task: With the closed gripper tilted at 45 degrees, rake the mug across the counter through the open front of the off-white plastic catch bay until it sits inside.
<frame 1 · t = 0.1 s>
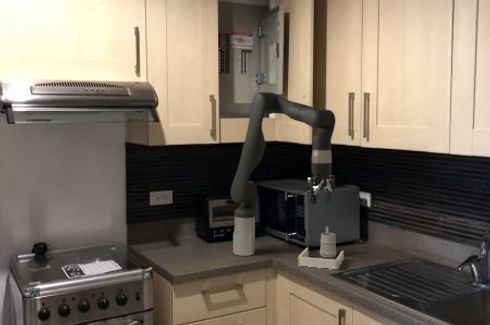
hand: (320, 202, 210), 29 cm above the countertop, tool pointing down, fingers open, 8 cm apart
catch bay: (321, 262, 232), on the countertop
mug: (327, 254, 246), on the countertop
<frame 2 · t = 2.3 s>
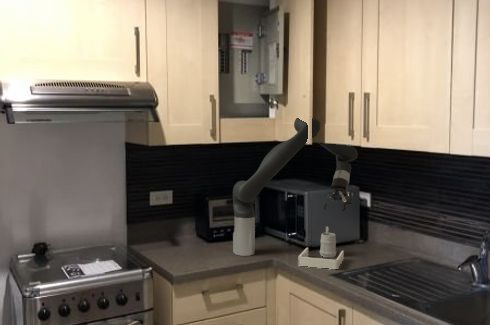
hand: (334, 209, 251), 19 cm above the countertop, tool tilted 45°, fingers open, 8 cm apart
nothing on the countertop moved.
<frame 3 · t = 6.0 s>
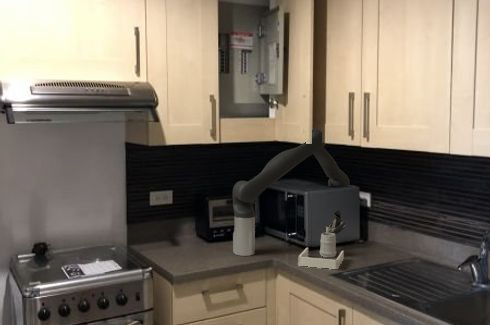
hand: (329, 240, 251), 5 cm above the countertop, tool tilted 45°, fingers closed
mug: (327, 254, 246), on the countertop, touching gripper
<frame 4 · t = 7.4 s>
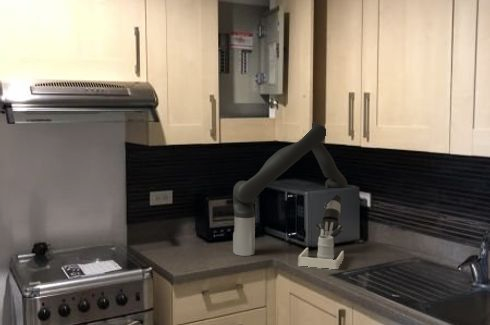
hand: (326, 243, 244), 5 cm above the countertop, tool tilted 45°, fingers closed
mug: (324, 258, 240), on the countertop, touching gripper
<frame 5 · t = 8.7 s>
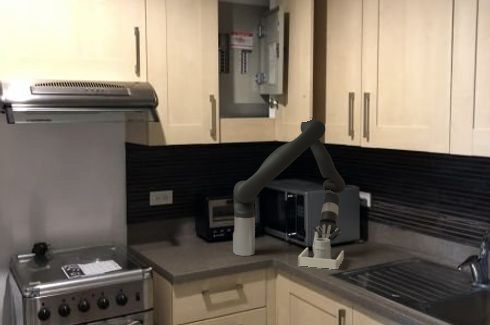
hand: (324, 247, 237), 5 cm above the countertop, tool tilted 45°, fingers closed
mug: (320, 261, 235), on the countertop, touching gripper
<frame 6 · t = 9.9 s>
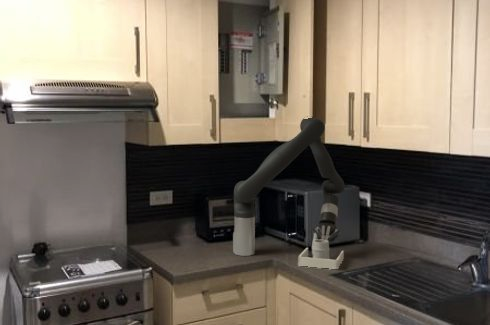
hand: (323, 248, 235), 5 cm above the countertop, tool tilted 45°, fingers closed
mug: (318, 262, 233), on the countertop, touching gripper
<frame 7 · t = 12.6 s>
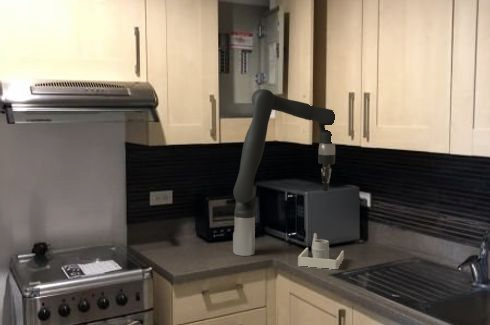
hand: (325, 190, 249), 28 cm above the countertop, tool pointing down, fingers closed
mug: (318, 262, 233), on the countertop
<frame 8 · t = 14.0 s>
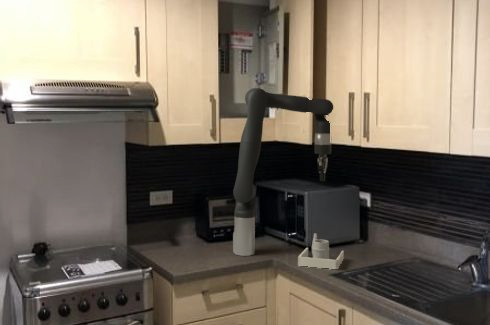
hand: (322, 180, 248), 33 cm above the countertop, tool pointing down, fingers closed
nothing on the countertop moved.
at the end: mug inside the target area on the catch bay (1.3 cm from its centre), point 0.0 cm above the catch bay's base; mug tilted 0° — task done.
